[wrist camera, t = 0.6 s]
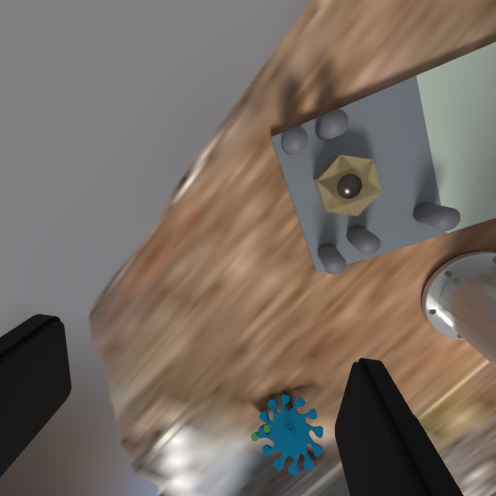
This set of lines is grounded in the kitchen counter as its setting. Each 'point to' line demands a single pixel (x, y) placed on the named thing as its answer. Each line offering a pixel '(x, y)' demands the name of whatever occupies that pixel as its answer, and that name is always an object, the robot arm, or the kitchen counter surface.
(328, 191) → the nut
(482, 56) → the spacer board
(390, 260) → the kitchen counter surface
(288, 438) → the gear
